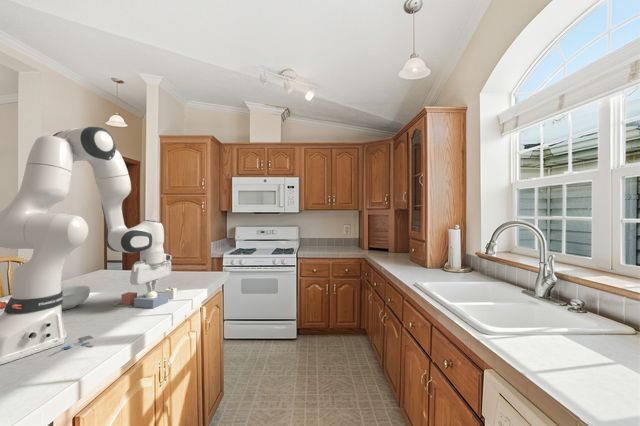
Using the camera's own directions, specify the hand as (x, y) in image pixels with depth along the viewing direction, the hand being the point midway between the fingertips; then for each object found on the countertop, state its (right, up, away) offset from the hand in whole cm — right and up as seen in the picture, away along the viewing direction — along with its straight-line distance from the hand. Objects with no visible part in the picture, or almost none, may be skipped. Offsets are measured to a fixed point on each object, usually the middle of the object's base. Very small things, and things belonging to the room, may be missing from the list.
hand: (151, 290), depth 131 cm
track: (-8, -6, +8) cm, 13 cm away
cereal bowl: (-32, -6, -6) cm, 33 cm away
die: (+3, -6, +10) cm, 12 cm away
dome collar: (0, -6, 0) cm, 6 cm away
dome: (0, -5, 0) cm, 5 cm away
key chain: (+1, -7, -40) cm, 41 cm away
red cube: (-10, -6, 0) cm, 11 cm away
